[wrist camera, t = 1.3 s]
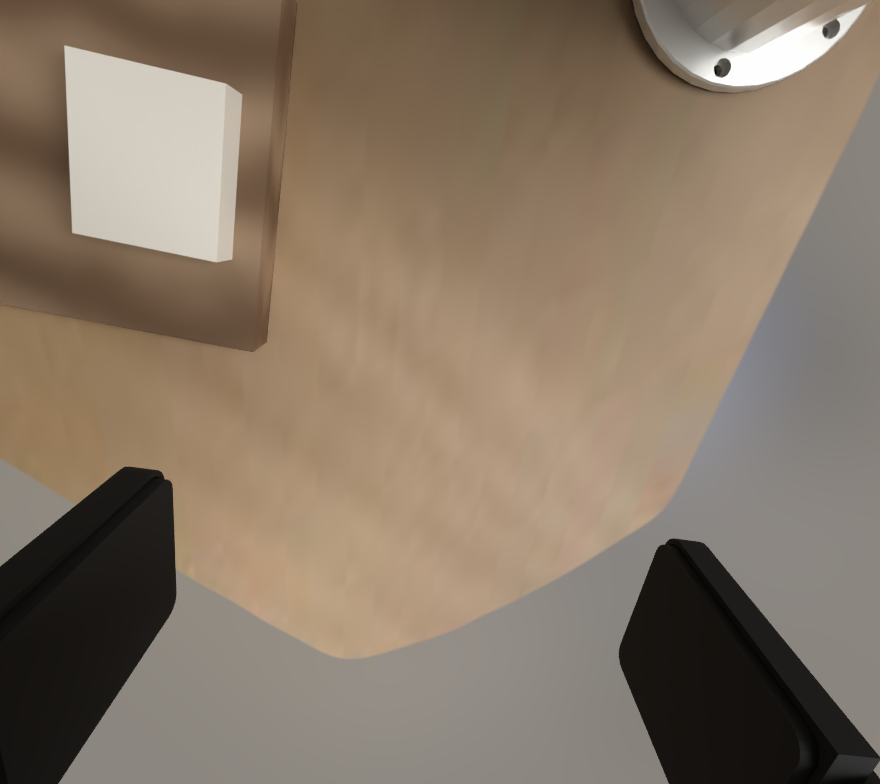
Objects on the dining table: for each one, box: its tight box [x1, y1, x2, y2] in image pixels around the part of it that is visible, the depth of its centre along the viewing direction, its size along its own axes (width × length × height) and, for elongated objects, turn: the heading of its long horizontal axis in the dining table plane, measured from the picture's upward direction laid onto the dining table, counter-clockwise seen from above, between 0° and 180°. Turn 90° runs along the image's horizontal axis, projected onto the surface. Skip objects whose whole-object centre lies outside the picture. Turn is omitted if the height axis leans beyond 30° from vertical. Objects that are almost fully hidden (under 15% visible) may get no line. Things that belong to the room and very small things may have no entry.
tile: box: [64, 45, 242, 262], centre depth 24 cm, size 8×7×2 cm
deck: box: [0, 0, 297, 352], centre depth 25 cm, size 18×16×2 cm
